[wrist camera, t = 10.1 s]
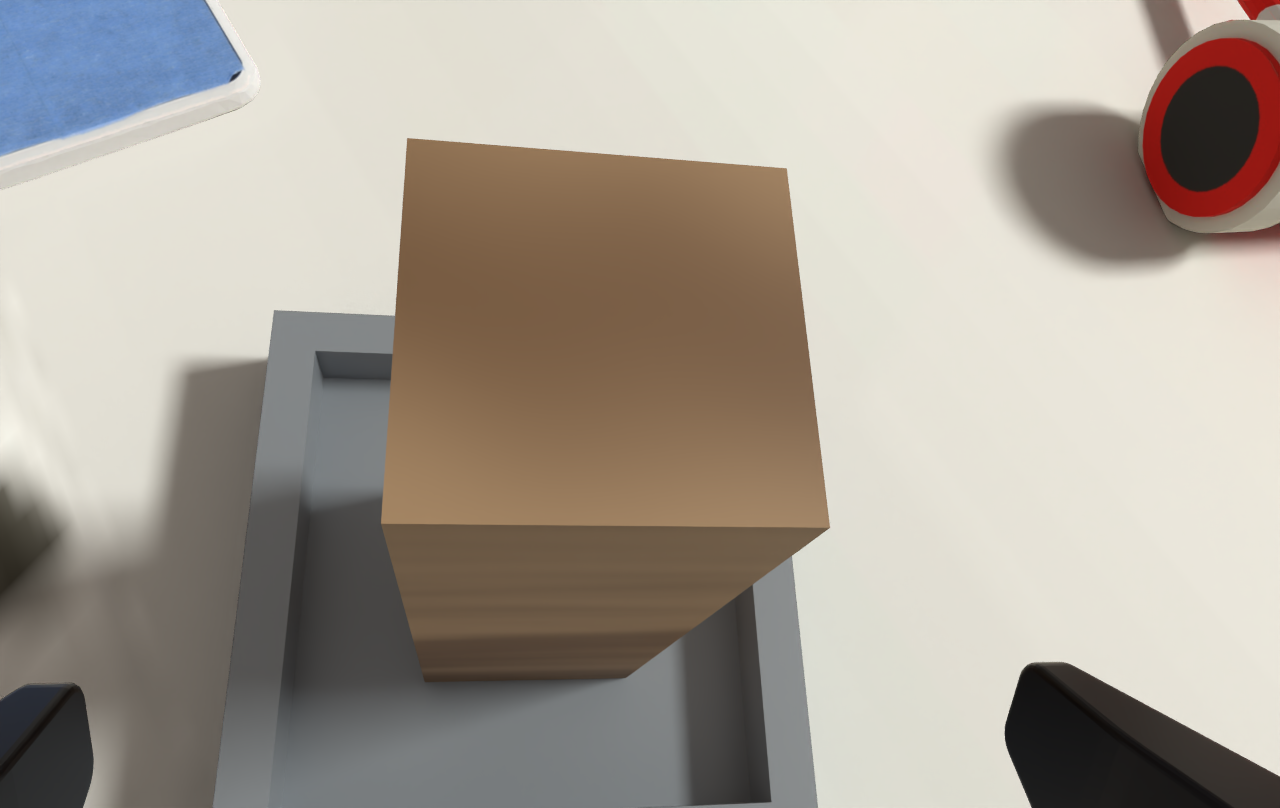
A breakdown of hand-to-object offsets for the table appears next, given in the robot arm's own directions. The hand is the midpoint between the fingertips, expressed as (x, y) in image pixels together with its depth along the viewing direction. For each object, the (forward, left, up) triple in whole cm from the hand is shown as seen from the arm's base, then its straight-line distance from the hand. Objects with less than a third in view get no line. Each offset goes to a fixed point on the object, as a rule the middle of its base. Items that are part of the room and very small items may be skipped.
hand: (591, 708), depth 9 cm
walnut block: (+4, +1, -13) cm, 13 cm away
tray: (+4, +1, -14) cm, 14 cm away
